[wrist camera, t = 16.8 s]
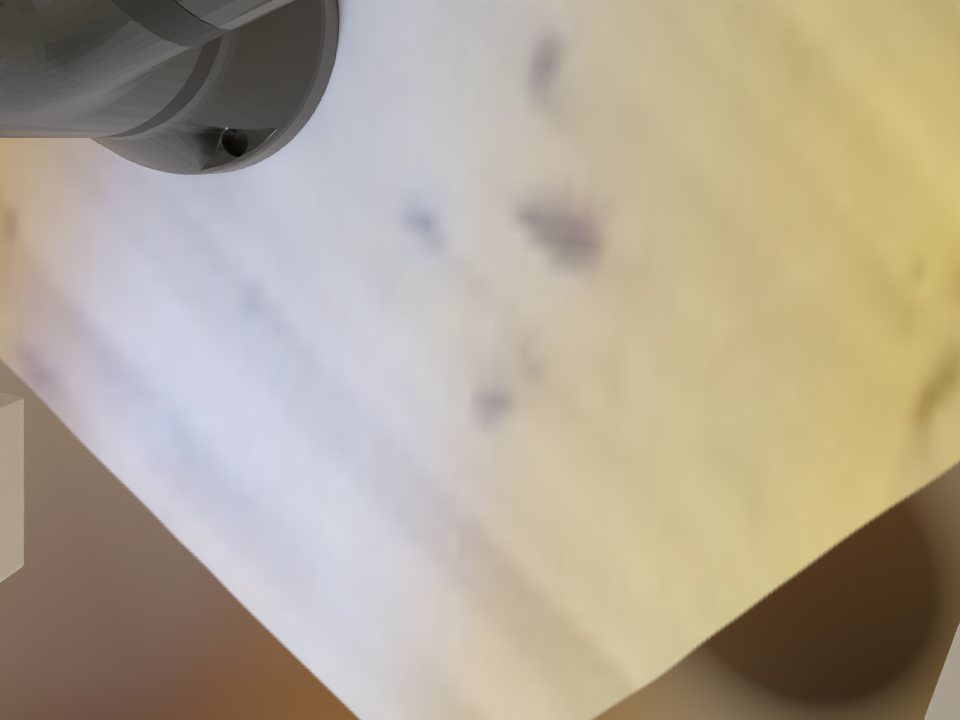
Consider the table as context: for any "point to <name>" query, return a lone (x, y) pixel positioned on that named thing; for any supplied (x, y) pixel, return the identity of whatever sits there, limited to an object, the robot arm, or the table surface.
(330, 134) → the table surface
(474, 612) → the table surface
